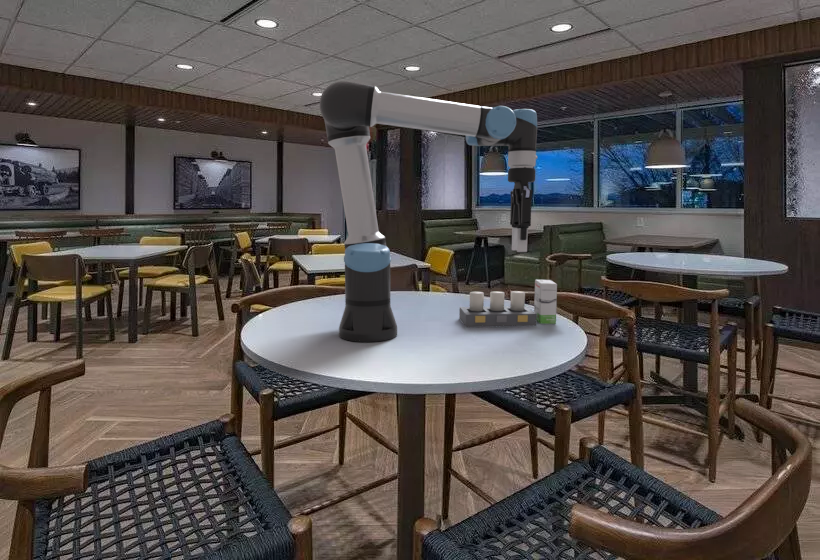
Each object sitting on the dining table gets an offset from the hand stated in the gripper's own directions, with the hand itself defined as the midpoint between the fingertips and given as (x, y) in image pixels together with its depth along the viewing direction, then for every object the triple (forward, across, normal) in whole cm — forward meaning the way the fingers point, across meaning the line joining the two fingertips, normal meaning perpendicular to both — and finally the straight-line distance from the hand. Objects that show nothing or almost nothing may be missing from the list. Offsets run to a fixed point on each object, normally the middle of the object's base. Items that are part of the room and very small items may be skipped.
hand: (519, 250), depth 148 cm
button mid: (+17, 0, +6) cm, 18 cm away
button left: (+17, 0, +12) cm, 21 cm away
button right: (+17, 0, 0) cm, 17 cm away
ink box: (+21, +1, -8) cm, 23 cm away
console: (+21, 0, +6) cm, 22 cm away
